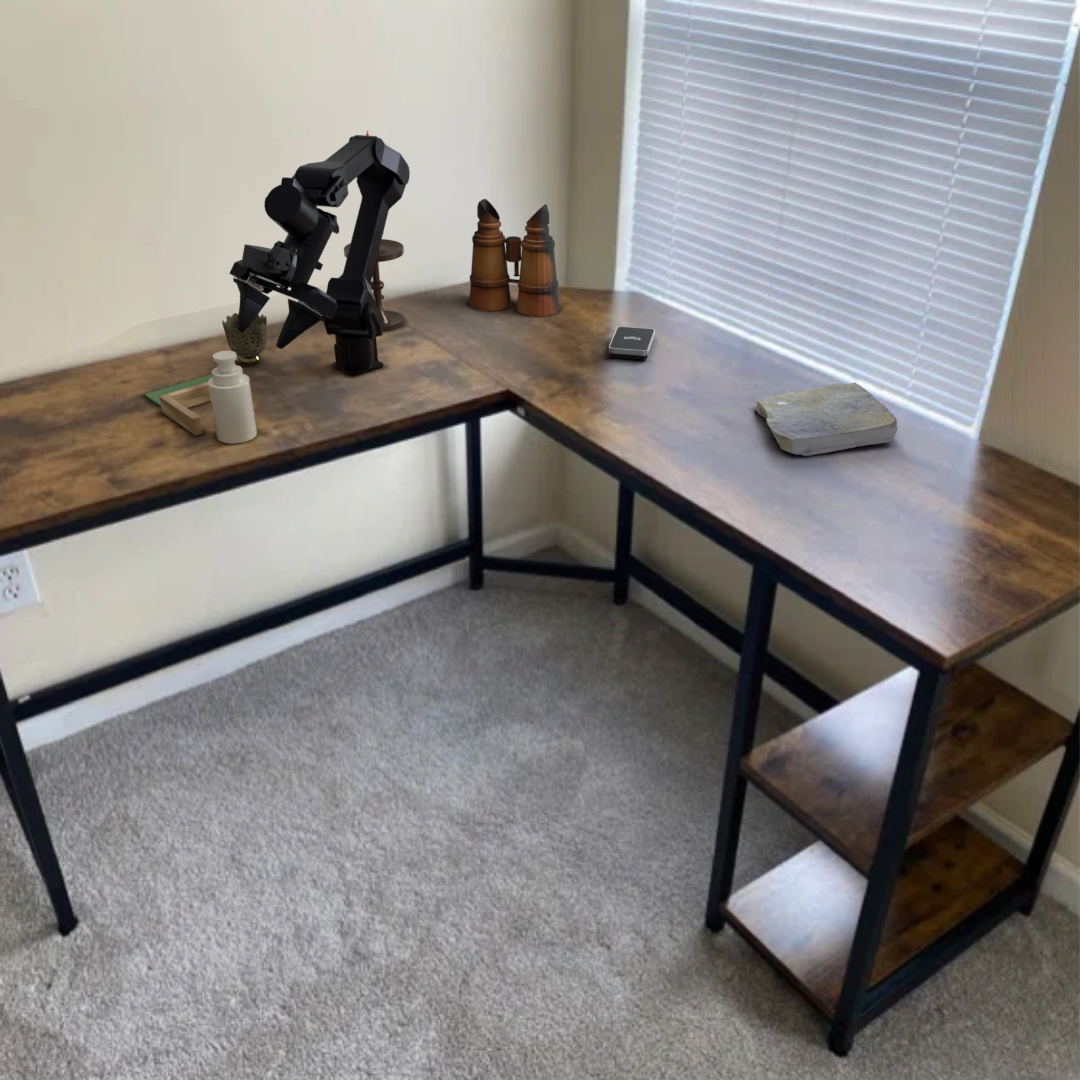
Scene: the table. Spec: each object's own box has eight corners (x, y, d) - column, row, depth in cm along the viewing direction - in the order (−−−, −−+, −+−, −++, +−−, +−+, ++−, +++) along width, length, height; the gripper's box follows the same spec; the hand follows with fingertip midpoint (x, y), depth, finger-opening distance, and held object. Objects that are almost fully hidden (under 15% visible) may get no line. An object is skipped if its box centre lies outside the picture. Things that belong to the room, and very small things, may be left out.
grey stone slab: (736, 416, 179) (781, 458, 164) (739, 389, 176) (785, 429, 161) (851, 408, 183) (905, 448, 168) (855, 381, 181) (910, 419, 166)
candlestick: (420, 322, 212) (409, 129, 194) (377, 337, 205) (361, 139, 187) (381, 309, 218) (367, 120, 200) (338, 324, 211) (319, 130, 193)
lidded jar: (244, 423, 174) (232, 344, 168) (264, 435, 171) (253, 355, 164) (209, 434, 171) (196, 354, 164) (229, 447, 167) (216, 366, 160)
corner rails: (234, 390, 185) (231, 374, 184) (269, 411, 178) (267, 395, 177) (161, 412, 178) (158, 396, 176) (195, 435, 171) (192, 419, 169)
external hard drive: (654, 339, 205) (655, 328, 204) (646, 362, 196) (647, 351, 195) (617, 336, 206) (617, 326, 205) (607, 358, 197) (608, 348, 196)
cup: (261, 372, 191) (255, 328, 187) (221, 369, 193) (214, 324, 189) (278, 356, 198) (273, 312, 194) (239, 353, 199) (233, 310, 195)
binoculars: (462, 308, 219) (458, 204, 209) (477, 294, 226) (474, 194, 215) (552, 318, 214) (552, 213, 204) (565, 304, 221) (566, 201, 210)
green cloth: (211, 376, 190) (211, 374, 190) (229, 387, 186) (228, 385, 186) (144, 396, 183) (144, 394, 183) (161, 407, 179) (161, 405, 179)
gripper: (227, 208, 168) (182, 302, 168) (310, 235, 158) (262, 335, 158) (277, 242, 177) (234, 331, 177) (358, 270, 167) (313, 364, 167)
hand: (258, 339), depth 170 cm, fingers open, 9 cm apart
